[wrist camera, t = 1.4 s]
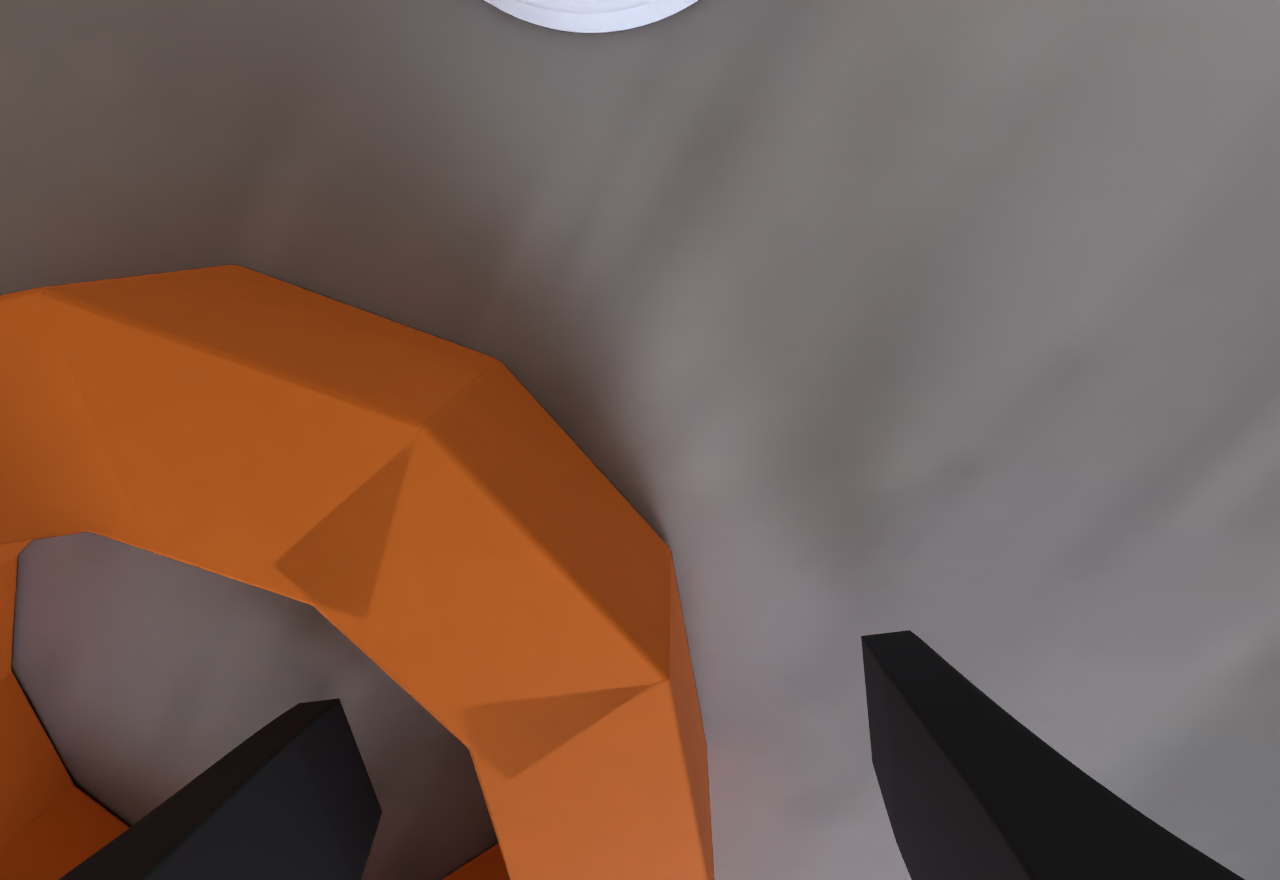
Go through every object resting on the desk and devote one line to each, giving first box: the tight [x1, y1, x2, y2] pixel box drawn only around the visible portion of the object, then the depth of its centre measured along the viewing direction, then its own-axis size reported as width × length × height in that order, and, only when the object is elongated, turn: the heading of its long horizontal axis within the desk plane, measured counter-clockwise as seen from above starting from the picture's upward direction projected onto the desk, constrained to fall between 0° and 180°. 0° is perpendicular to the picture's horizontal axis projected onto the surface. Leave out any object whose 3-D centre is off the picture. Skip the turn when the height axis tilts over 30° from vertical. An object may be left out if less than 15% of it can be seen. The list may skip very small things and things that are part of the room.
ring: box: [0, 265, 714, 880], centre depth 10 cm, size 14×14×3 cm
